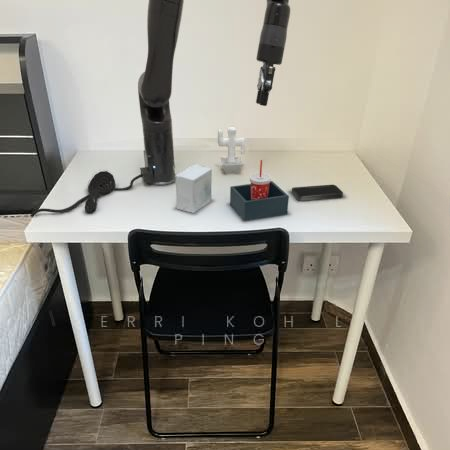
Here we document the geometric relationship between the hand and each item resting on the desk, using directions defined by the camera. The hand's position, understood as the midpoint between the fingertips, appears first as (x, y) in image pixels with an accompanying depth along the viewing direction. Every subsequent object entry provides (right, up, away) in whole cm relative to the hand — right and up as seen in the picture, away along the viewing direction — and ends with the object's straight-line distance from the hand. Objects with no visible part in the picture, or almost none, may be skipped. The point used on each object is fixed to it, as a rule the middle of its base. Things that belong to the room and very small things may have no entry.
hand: (261, 104), depth 139 cm
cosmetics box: (-20, -31, 0) cm, 37 cm away
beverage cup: (-1, -32, -3) cm, 32 cm away
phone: (+18, -26, +7) cm, 32 cm away
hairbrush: (-51, -27, +4) cm, 58 cm away
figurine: (-9, -14, +22) cm, 28 cm away
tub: (-1, -32, -3) cm, 32 cm away
